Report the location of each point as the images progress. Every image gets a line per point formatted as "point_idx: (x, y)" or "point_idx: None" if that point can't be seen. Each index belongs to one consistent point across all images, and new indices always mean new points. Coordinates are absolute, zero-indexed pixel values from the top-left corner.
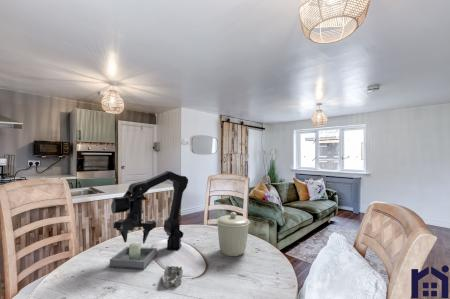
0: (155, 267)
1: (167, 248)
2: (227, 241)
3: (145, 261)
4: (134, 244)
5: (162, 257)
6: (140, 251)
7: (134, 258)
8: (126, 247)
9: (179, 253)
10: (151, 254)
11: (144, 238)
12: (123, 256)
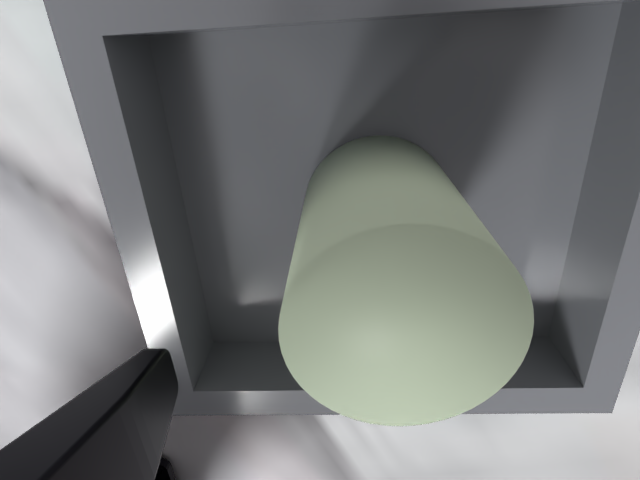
0: (15, 94)
1: (163, 469)
2: None
3: (68, 46)
4: (416, 338)
5: (107, 322)
6: None
7: (343, 157)
8: (603, 390)
9: (3, 411)
10: (127, 266)
11: (3, 462)
12: (565, 252)
